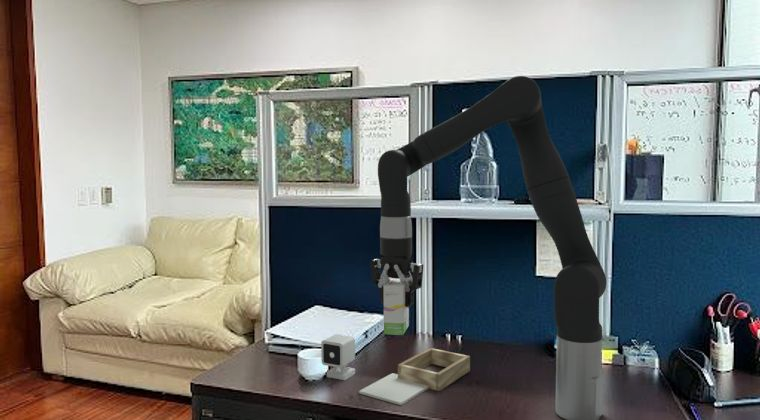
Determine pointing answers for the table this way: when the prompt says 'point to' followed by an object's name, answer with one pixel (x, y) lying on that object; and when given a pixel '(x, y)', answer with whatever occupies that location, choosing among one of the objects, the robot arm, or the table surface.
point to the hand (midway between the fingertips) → (396, 304)
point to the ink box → (395, 307)
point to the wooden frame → (436, 381)
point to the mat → (394, 389)
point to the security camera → (338, 355)
